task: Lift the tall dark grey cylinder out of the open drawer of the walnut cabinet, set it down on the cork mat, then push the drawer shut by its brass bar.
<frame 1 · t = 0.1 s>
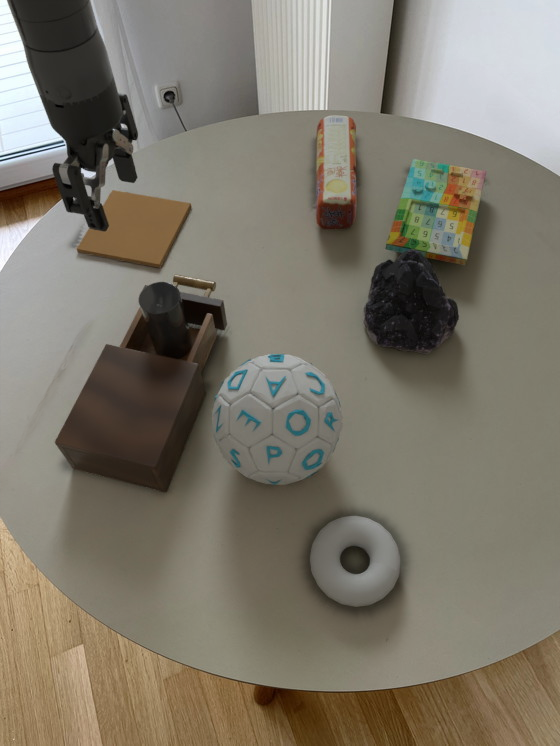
hand: (114, 203, 77), 21 cm above the table, tool pointing down, fingers open, 8 cm apart
snack package: (336, 188, 108), on the table
puzzle ball: (280, 448, 82), on the table
dark grey cylinder: (173, 345, 89), point 2 cm above the table, touching drawer
cork mat: (135, 229, 104), on the table
cabinet: (141, 430, 84), on the table
donut: (353, 565, 73), on the table
puzzle game: (434, 225, 103), on the table
drawer: (174, 330, 88), point 4 cm above the table, slide at 10.0 cm, touching dark grey cylinder
crystal cluster: (406, 321, 92), on the table
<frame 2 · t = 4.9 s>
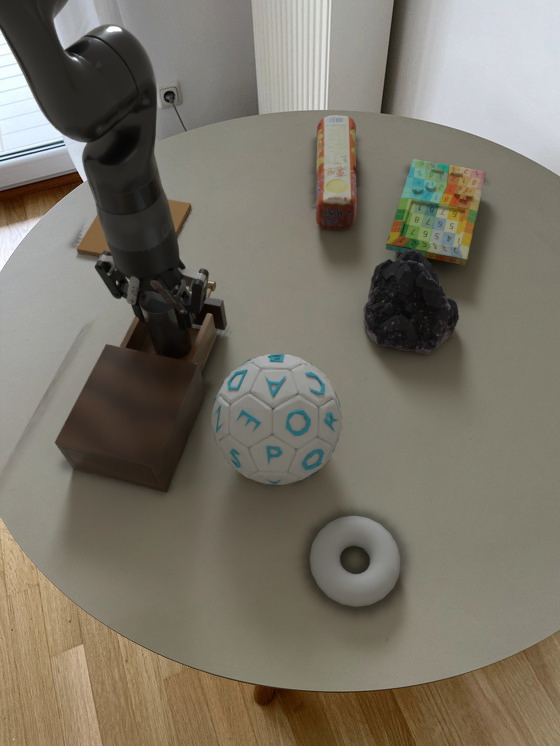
hand: (166, 321, 84), 7 cm above the table, tool pointing down, fingers closed on dark grey cylinder, 5 cm apart
dark grey cylinder: (173, 345, 89), point 2 cm above the table, touching drawer, gripper
everything else where it was.
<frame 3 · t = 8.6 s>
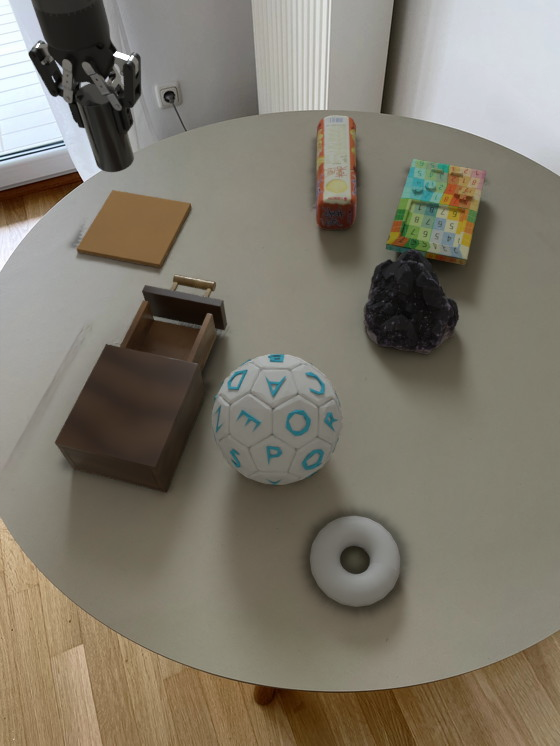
hand: (105, 127, 85), 21 cm above the table, tool pointing down, fingers closed on dark grey cylinder, 5 cm apart
dark grey cylinder: (115, 160, 89), point 16 cm above the table, touching gripper
drawer: (174, 330, 88), point 4 cm above the table, slide at 10.0 cm
everything else where it was.
when the fingers open (6 cm above the table, at t = 12.7 s): dark grey cylinder stays where it is, resting on cork mat.
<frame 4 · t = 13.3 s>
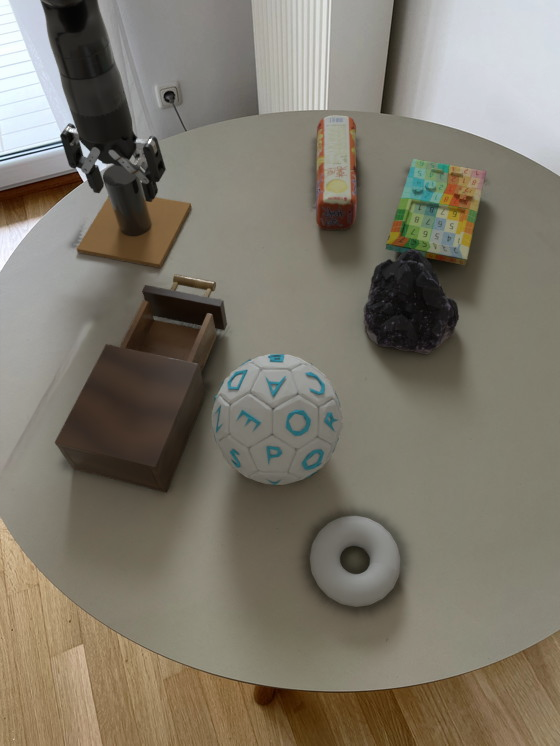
hand: (125, 193, 98), 7 cm above the table, tool pointing down, fingers open, 8 cm apart
dark grey cylinder: (135, 225, 104), point 1 cm above the table, touching cork mat
everything else where it was.
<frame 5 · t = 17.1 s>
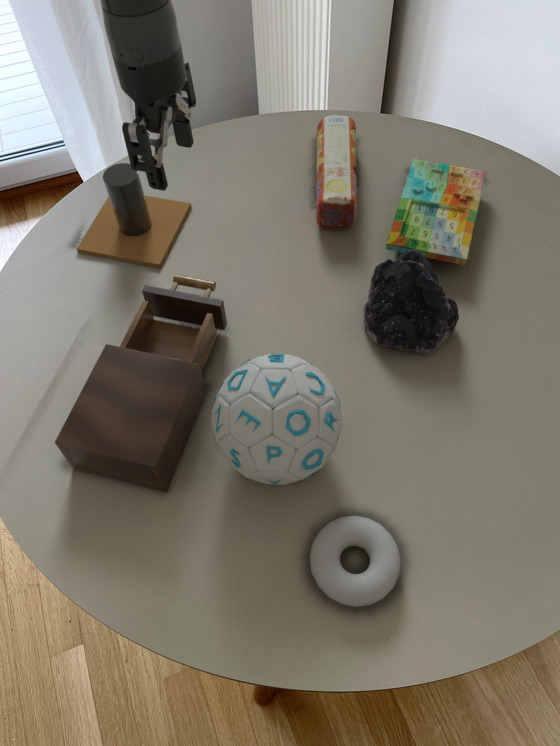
hand: (172, 166, 83), 19 cm above the table, tool pointing down, fingers open, 8 cm apart
nothing on the table moved.
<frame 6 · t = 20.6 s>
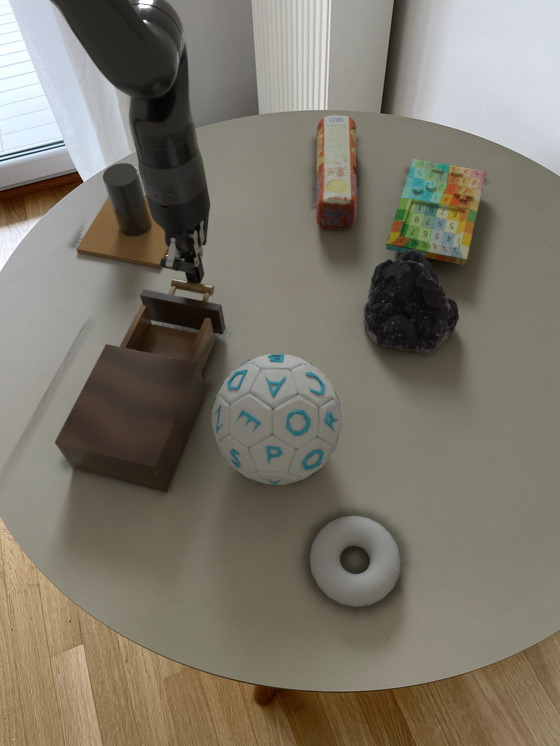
hand: (195, 278, 92), 4 cm above the table, tool pointing down, fingers closed
drawer: (172, 334, 88), point 4 cm above the table, slide at 9.2 cm, touching gripper
everything else where it was.
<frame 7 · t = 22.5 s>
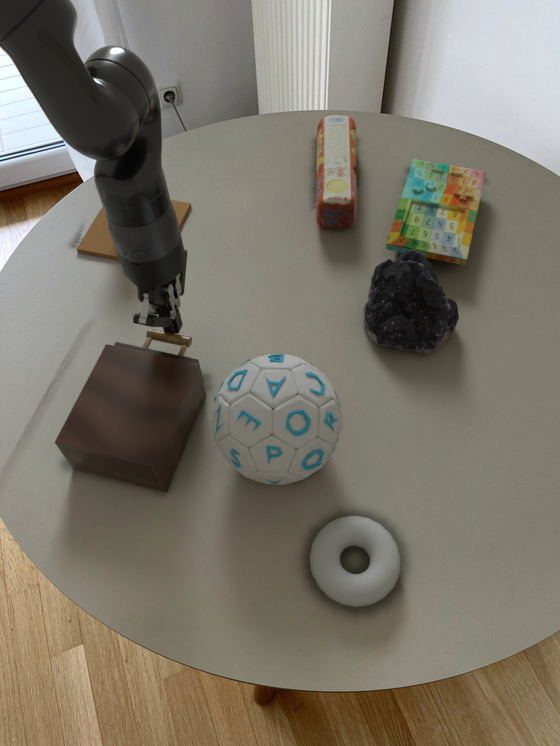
hand: (173, 328, 87), 4 cm above the table, tool pointing down, fingers closed
drawer: (147, 391, 83), point 4 cm above the table, slide at 0.0 cm, touching cabinet, gripper
everything else where it was.
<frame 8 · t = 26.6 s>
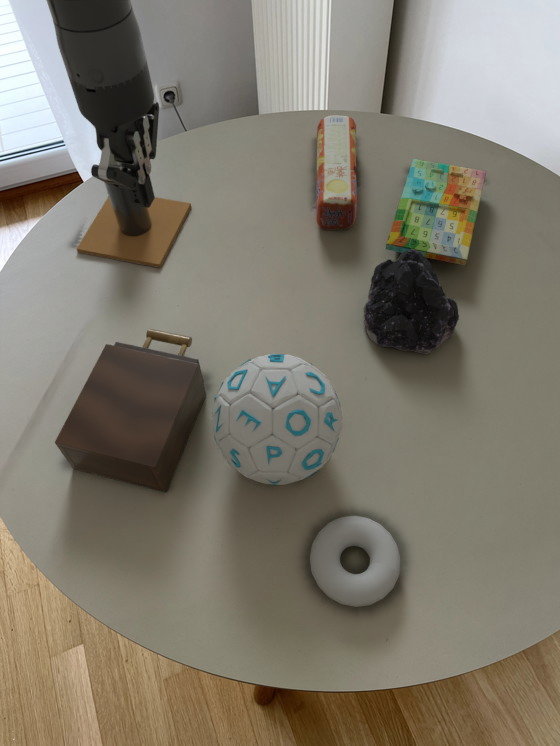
hand: (144, 202, 75), 22 cm above the table, tool pointing down, fingers closed
drawer: (147, 391, 83), point 4 cm above the table, slide at 0.0 cm, touching cabinet
everything else where it was.
at the end: dark grey cylinder inside the target area on the cork mat (0.1 cm from its centre), point 0.8 cm above the cork mat's base; dark grey cylinder tilted 0°; drawer slide at 0.0 cm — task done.
